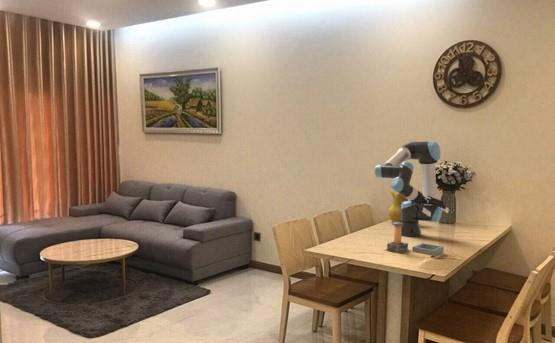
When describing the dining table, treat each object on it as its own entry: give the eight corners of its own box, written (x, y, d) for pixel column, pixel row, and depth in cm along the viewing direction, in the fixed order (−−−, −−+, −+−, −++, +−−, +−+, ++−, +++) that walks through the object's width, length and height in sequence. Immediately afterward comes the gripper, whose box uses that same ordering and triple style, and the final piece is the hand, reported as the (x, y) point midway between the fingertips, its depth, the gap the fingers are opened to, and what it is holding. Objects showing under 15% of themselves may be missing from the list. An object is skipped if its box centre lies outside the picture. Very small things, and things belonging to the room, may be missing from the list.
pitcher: (396, 220, 365) (398, 189, 361) (417, 224, 350) (418, 192, 347) (383, 223, 354) (384, 191, 350) (403, 228, 340) (405, 195, 336)
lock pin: (390, 250, 266) (391, 223, 264) (395, 248, 270) (395, 221, 269) (399, 252, 262) (400, 224, 261) (404, 250, 266) (404, 223, 265)
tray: (412, 253, 264) (412, 247, 263) (422, 249, 273) (422, 242, 273) (434, 257, 255) (434, 250, 255) (443, 253, 265) (443, 246, 264)
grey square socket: (383, 253, 266) (383, 243, 265) (393, 249, 275) (393, 240, 274) (402, 256, 258) (402, 247, 257) (411, 252, 267) (411, 243, 266)
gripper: (397, 204, 273) (421, 221, 280) (428, 196, 252) (454, 215, 259) (400, 193, 277) (424, 210, 283) (431, 185, 256) (457, 203, 262)
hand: (439, 212), depth 271 cm, fingers open, 13 cm apart
